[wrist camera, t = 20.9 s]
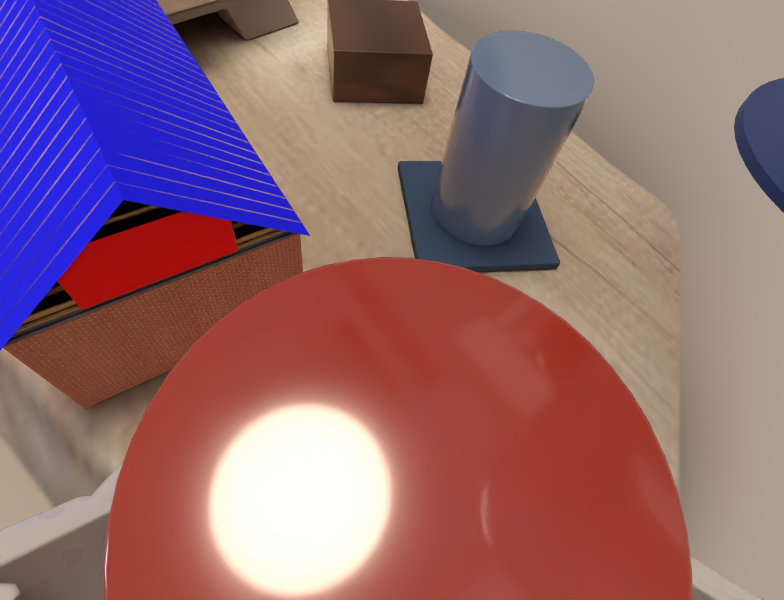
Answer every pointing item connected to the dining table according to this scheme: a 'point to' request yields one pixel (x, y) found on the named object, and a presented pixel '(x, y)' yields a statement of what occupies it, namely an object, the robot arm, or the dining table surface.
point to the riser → (377, 51)
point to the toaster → (235, 13)
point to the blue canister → (507, 133)
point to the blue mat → (436, 244)
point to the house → (122, 196)
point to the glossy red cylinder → (394, 454)
